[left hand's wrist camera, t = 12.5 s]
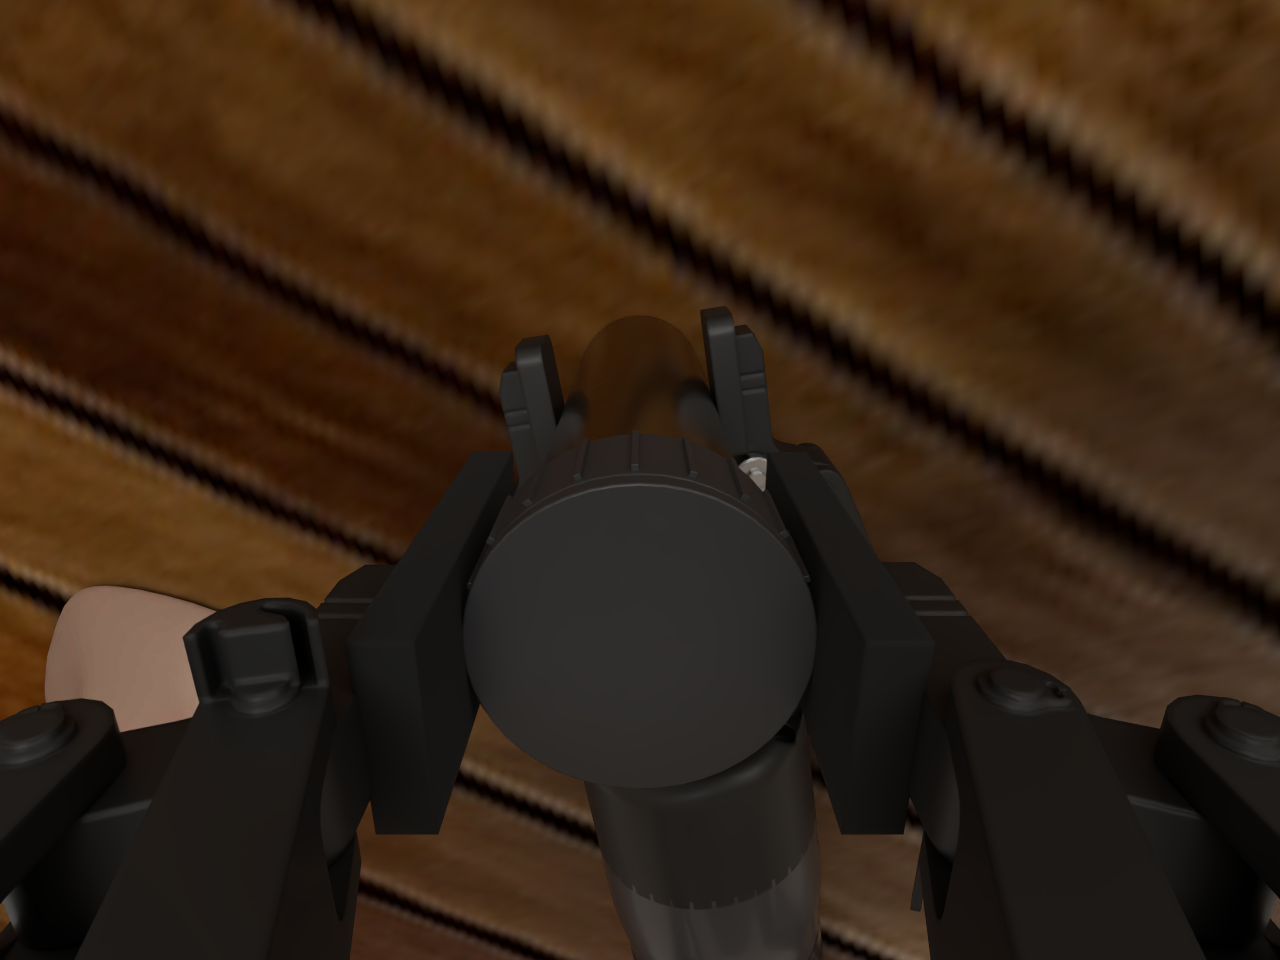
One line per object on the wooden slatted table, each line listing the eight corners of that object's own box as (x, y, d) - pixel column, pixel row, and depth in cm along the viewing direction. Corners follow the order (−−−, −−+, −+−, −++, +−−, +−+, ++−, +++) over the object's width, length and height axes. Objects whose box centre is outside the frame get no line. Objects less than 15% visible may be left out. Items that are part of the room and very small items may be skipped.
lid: (479, 683, 13) (449, 774, 11) (498, 410, 11) (466, 455, 9) (759, 714, 13) (782, 808, 11) (821, 451, 11) (860, 504, 9)
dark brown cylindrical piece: (575, 424, 27) (483, 735, 11) (587, 307, 26) (501, 475, 10) (689, 438, 27) (758, 766, 11) (708, 324, 26) (817, 514, 10)
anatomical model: (-77, 636, 26) (254, 644, 26) (14, 581, 29) (302, 588, 29) (24, 913, 30) (304, 919, 30) (92, 835, 34) (341, 841, 34)
